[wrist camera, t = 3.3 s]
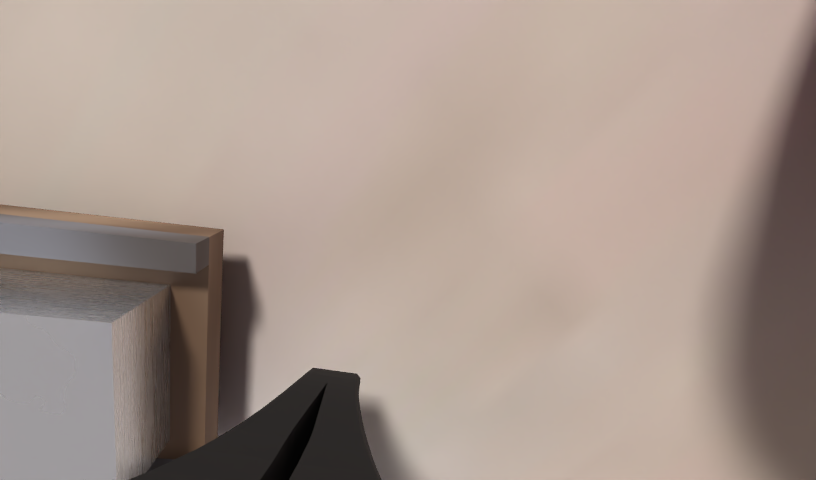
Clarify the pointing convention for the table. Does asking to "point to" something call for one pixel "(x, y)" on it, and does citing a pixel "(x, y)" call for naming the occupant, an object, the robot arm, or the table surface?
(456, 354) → the table surface
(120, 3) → the table surface
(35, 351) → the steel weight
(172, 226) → the beam
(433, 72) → the table surface
